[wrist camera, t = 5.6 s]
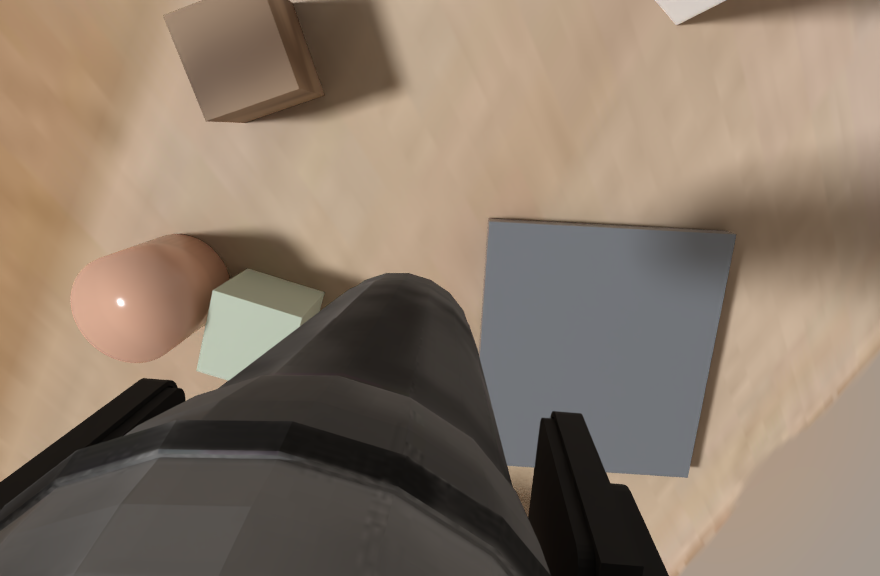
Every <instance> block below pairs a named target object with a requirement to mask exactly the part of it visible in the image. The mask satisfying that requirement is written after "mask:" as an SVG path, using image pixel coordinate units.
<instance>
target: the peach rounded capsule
mask: <svg viewBox="0 0 880 576" xmlns="http://www.w3.org/2000/svg"><path fill="white" fill-rule="evenodd" d="M228 280H229V275H228V272H227V269H226V267H225V265H224V263H223V261H222V259H221V258H220V257H219V255H218V254H217V253H216V252H215V251H214V250H213V249H212V248H211V247H210V246H209V245H207V244H206V243H204V242H203V241H201V240H199V239H197V238H194V237H192V236H188V235H182V234H171V235H165V236H162V237H159V238H156V239H153V240H150V241H147V242H145V243H142V244H139V245H136V246H133V247H130V248H127V249H124V250H121V251H118V252H116V253H113V254H110V255H107V256H104V257H101V258H98V259H96V260H94V261H92V262H90V263H89V264H87V265H86V266H85V267H84V268H83V269H82V270H81V271H80V272H79V274H78V275H77V277H76V279H75V281H74V283H73V286H72V291H71V309H72V313H73V317H74V320H75V322H76V324H77V326H78V328H79V330H80V331H81V333H82V334H83V336H84V337H85V338H86V339H87V340H88V341H89V342H90V343H91V344H92V345H93V346H94V347H95V348H96V349H98V350H99V351H100V352H102V353H104V354H105V355H107V356H109V357H111V358H114V359H117V360H120V361H124V362H130V363H143V362H149V361H153V360H155V359H158V358H160V357H161V356H163V355H165V354H166V353H167V352H169V351H170V350H171V349H173V348H174V347H175V346H177V345H178V344H180V343H181V342H182V341H184V340H185V339H186V338H188V337H189V336H190V335H192V334H193V333H194V332H196V331H197V330H198V329H200V328H201V327H203V326H204V325H205V324H206V321H207V316H208V311H209V306H210V301H211V296H212V291H213V290H214V289H215V288H217V287H219V286H220V285H222V284H223V283H225V282H227V281H228Z"/></svg>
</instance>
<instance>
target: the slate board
mask: <svg viewBox="0 0 880 576" xmlns="http://www.w3.org/2000/svg"><path fill="white" fill-rule="evenodd" d="M735 239H736V234H734V233H731V232H728V231H721V230H702V229H683V228H664V227H645V226H626V225H607V224H588V223H569V222H550V221H531V220H512V219H493V218H489V219H488V233H487V247H486V261H485V275H484V289H483V303H482V318H481V332H480V346H479V357H480V361H481V365H482V369H483V373H484V377H485V381H486V385H487V389H488V393H489V396H490V400H491V404H492V408H493V412H494V416H495V420H496V424H497V428H498V432H499V436H500V440H501V444H502V447H503V451H504V455H505V459H506V463H507V466H521V467H535V460H536V451H537V443H538V435H539V427H540V421H541V418H550V417H551V413H552V412H553V411H558V412H570V413H581V414H582V415H583V417H584V420H585V422H586V425H587V427H588V430H589V432H590V435H591V437H592V440H593V442H594V445H595V447H596V449H597V452H598V454H599V457H600V459H601V462H602V464H603V467H604V469H605V472H611V473H626V474H640V475H655V476H670V477H685V478H688V473H689V468H690V463H691V458H692V453H693V448H694V443H695V438H696V433H697V428H698V424H699V419H700V414H701V409H702V404H703V399H704V394H705V389H706V384H707V379H708V374H709V369H710V364H711V359H712V354H713V349H714V344H715V339H716V334H717V329H718V324H719V319H720V314H721V309H722V304H723V299H724V294H725V289H726V284H727V279H728V274H729V269H730V264H731V259H732V254H733V249H734V244H735Z"/></svg>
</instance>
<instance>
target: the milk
mask: <svg viewBox="0 0 880 576" xmlns="http://www.w3.org/2000/svg"><path fill="white" fill-rule="evenodd" d="M655 1H656V3H657V4H658V5H659V6H660V7H661V8H662V9H663V11H664V12H665V13H666V14H667V15H668V16H669V18H670V19H671V20H672V21H673V22H674V23H675V24H676V25H678V24H681V23H683V22H684V21H686V20H688V19H690V18H692V17H694V16H696V15H698V14H700V13H702V12H704V11H706V10H708V9H710V8H712V7H714V6H716V5H718V4H720V3H722V2H724V1H726V0H655Z"/></svg>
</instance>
